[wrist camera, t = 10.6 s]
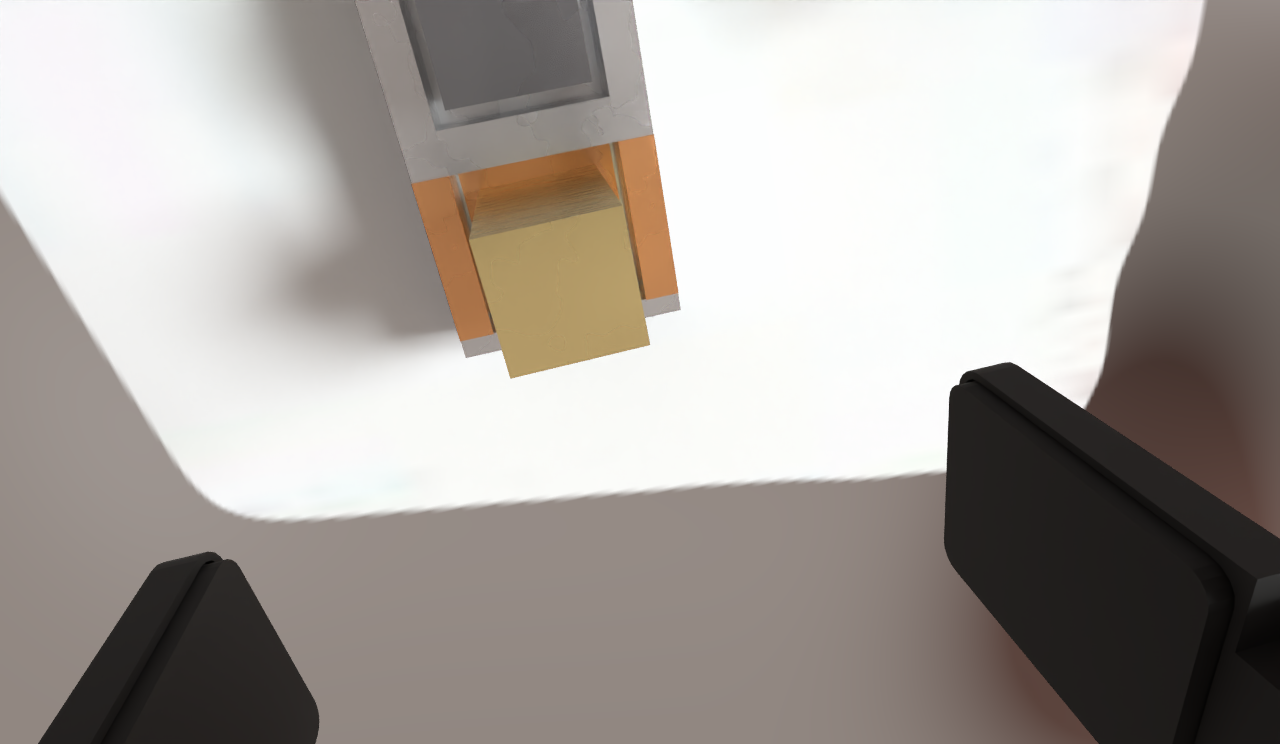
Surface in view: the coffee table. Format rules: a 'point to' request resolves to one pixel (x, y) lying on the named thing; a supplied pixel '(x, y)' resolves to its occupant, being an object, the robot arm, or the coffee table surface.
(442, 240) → the rail
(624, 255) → the gold brushed block
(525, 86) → the grey brushed cube
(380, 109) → the coffee table surface
